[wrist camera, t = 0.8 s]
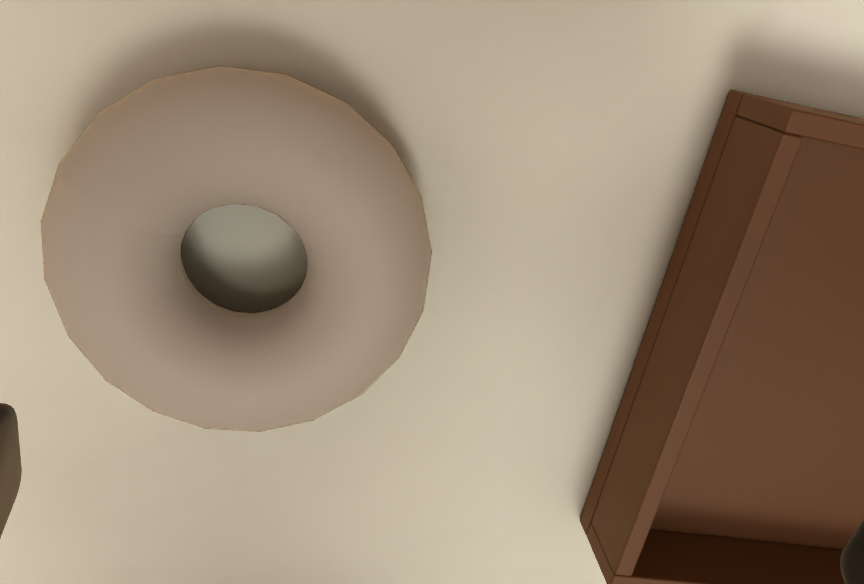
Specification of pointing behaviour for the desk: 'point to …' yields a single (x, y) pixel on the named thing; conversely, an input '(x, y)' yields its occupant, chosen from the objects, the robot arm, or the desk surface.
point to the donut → (221, 185)
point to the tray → (748, 369)
